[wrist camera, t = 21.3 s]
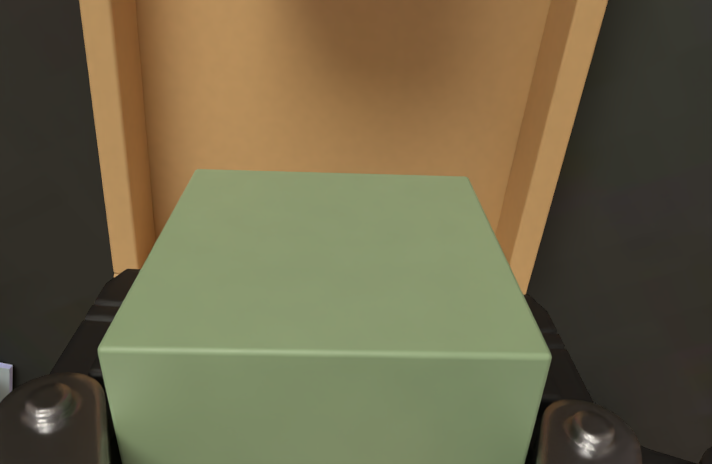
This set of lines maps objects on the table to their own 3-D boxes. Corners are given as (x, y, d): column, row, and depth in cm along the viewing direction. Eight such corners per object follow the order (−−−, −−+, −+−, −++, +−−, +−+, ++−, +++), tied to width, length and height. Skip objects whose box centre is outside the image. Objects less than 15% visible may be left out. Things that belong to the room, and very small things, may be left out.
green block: (194, 167, 11) (93, 349, 6) (468, 174, 11) (554, 356, 6) (215, 376, 13) (152, 613, 9) (439, 379, 13) (487, 612, 9)
